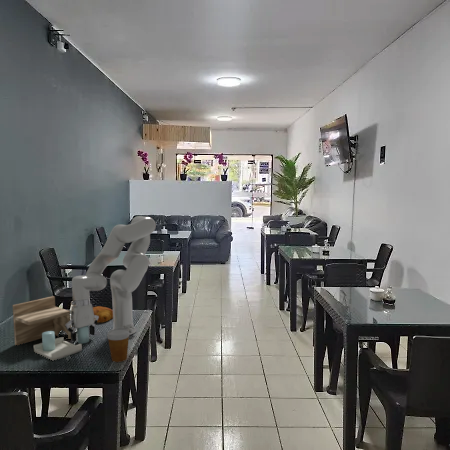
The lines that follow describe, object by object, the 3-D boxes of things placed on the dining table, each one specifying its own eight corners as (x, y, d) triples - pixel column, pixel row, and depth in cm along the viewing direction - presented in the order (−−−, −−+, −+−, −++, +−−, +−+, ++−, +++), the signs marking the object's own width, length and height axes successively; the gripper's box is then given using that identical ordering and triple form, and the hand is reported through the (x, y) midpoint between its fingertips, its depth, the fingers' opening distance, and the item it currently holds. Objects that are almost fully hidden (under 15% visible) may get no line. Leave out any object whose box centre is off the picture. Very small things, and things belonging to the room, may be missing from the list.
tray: (82, 350, 191) (81, 332, 191) (52, 361, 181) (51, 342, 180) (63, 343, 202) (62, 325, 201) (33, 352, 191) (32, 334, 190)
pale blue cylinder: (91, 341, 204) (90, 325, 203) (81, 344, 200) (80, 328, 199) (85, 338, 207) (84, 323, 206) (75, 341, 203) (74, 326, 202)
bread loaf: (93, 329, 228) (93, 315, 226) (82, 318, 239) (82, 305, 238) (118, 322, 237) (118, 309, 235) (107, 312, 248) (106, 299, 247)
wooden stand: (71, 339, 206) (69, 300, 204) (30, 352, 191) (28, 310, 189) (55, 333, 216) (53, 296, 214) (15, 344, 200) (12, 305, 198)
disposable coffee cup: (110, 355, 186) (108, 328, 185) (132, 354, 187) (131, 327, 186) (105, 364, 177) (104, 336, 175) (129, 363, 177) (128, 335, 176)
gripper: (68, 307, 192) (70, 344, 194) (101, 299, 206) (103, 334, 207) (60, 305, 197) (62, 341, 199) (92, 297, 210) (94, 331, 212)
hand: (83, 337), depth 203 cm, fingers open, 9 cm apart
